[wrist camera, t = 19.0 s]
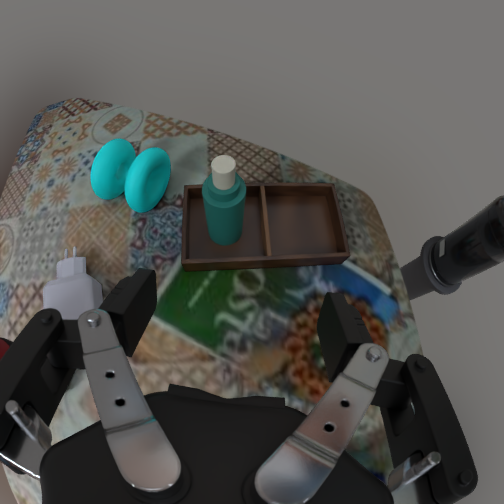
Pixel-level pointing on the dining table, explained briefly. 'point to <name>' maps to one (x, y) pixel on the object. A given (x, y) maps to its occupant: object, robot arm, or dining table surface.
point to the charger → (72, 289)
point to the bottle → (224, 201)
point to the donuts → (131, 174)
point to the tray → (269, 229)
